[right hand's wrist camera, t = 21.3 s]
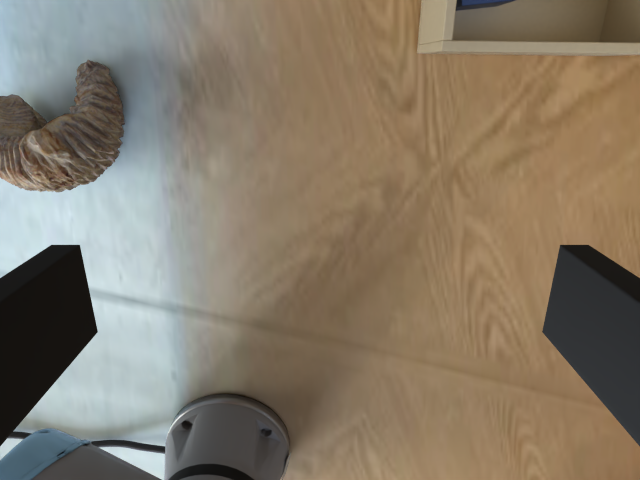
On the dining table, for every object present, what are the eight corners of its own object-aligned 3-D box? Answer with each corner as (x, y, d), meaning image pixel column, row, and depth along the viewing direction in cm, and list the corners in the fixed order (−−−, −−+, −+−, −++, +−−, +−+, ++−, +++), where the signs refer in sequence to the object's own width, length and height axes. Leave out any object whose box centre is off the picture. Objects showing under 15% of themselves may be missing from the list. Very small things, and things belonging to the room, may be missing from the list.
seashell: (26, 146, 47) (-29, 211, 40) (-27, 52, 40) (-106, 111, 33) (152, 150, 47) (118, 215, 40) (121, 55, 39) (73, 115, 33)
